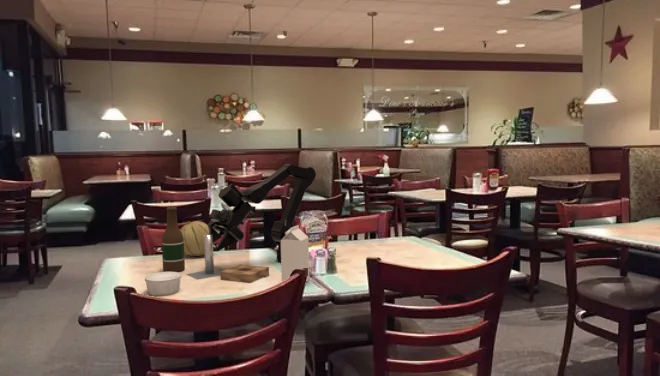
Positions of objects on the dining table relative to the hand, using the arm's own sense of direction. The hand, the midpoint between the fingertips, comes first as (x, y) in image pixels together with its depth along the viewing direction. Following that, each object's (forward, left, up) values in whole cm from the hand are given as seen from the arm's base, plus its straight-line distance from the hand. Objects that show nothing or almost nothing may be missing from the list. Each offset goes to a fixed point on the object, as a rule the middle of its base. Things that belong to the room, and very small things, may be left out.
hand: (210, 248), depth 193 cm
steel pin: (+1, 0, -9) cm, 9 cm away
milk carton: (-30, +16, -10) cm, 35 cm away
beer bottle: (+15, -5, -10) cm, 18 cm away
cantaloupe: (+12, -32, -10) cm, 36 cm away
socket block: (-13, +7, -9) cm, 17 cm away
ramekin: (+12, +22, -10) cm, 26 cm away
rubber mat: (+1, 0, -9) cm, 9 cm away
